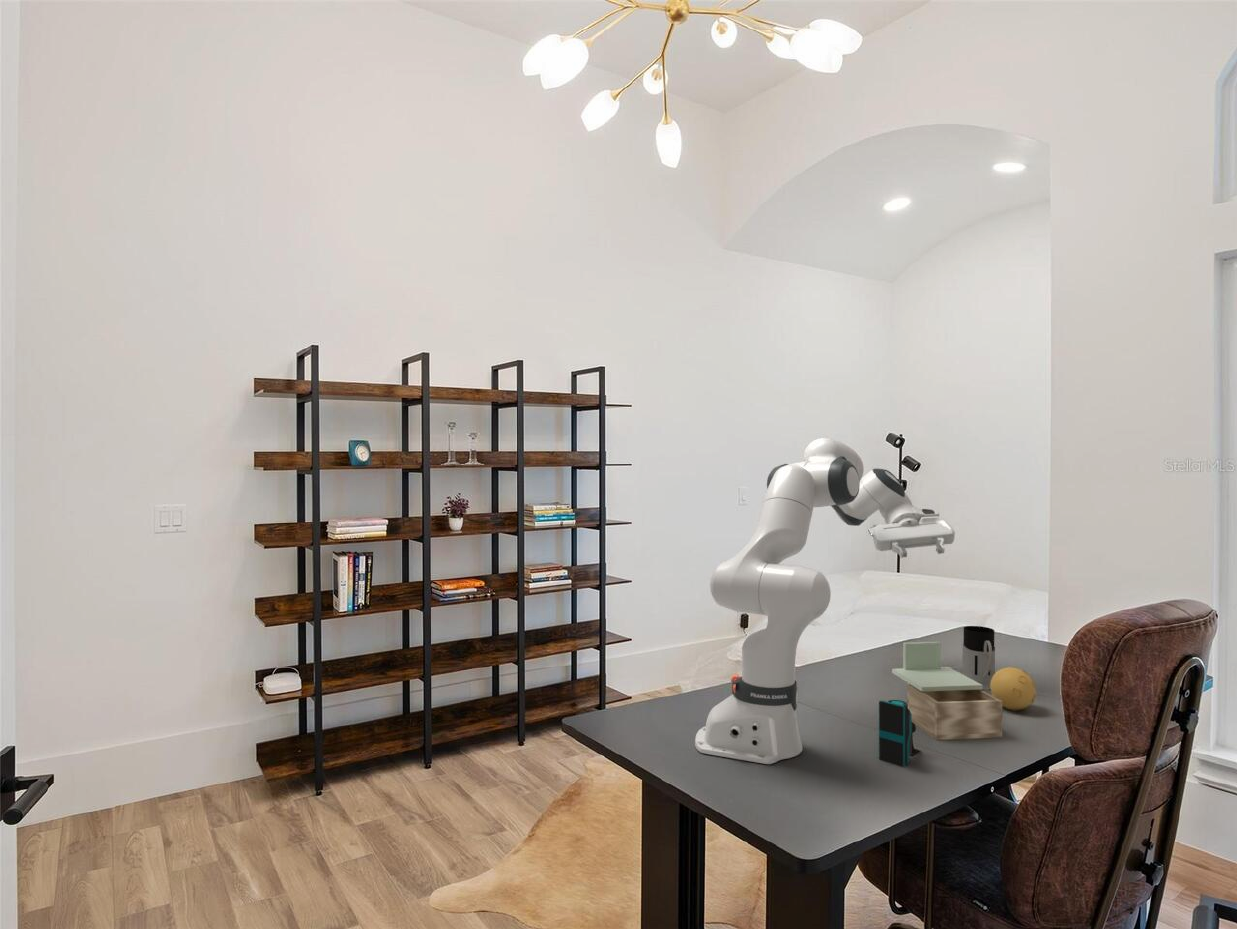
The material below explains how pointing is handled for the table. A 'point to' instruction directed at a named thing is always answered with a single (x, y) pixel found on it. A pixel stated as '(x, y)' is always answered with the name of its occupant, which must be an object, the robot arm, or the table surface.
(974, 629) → the glass holder
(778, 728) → the robot arm
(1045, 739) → the table surface
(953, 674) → the lid
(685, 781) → the table surface
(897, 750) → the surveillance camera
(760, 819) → the table surface
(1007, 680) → the stress ball
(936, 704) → the wooden box
